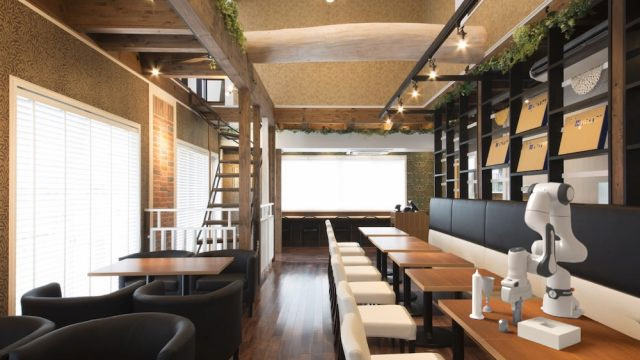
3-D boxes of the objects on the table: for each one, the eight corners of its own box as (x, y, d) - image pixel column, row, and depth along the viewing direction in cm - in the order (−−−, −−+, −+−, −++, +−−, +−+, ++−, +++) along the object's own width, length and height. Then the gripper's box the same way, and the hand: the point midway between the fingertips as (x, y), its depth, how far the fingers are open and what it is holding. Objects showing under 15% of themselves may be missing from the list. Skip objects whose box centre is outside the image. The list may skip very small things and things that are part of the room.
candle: (485, 320, 202) (485, 270, 202) (470, 319, 203) (471, 270, 203) (482, 315, 209) (483, 268, 209) (468, 314, 210) (468, 267, 210)
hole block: (539, 328, 190) (539, 316, 190) (580, 341, 175) (580, 327, 175) (517, 335, 181) (517, 322, 181) (558, 350, 165) (558, 335, 165)
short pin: (502, 329, 189) (502, 318, 189) (510, 331, 186) (510, 321, 186) (497, 330, 187) (497, 319, 187) (504, 333, 184) (504, 322, 184)
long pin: (515, 322, 198) (515, 294, 199) (523, 324, 195) (523, 296, 195) (511, 323, 196) (511, 295, 196) (518, 326, 193) (518, 297, 193)
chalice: (493, 309, 219) (494, 277, 219) (495, 313, 212) (495, 279, 212) (479, 308, 221) (479, 276, 221) (480, 312, 215) (480, 278, 215)
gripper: (523, 277, 204) (523, 304, 204) (498, 282, 193) (498, 310, 193) (535, 279, 199) (535, 307, 198) (510, 284, 188) (510, 314, 188)
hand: (517, 308), depth 196 cm, fingers closed on long pin, 4 cm apart
